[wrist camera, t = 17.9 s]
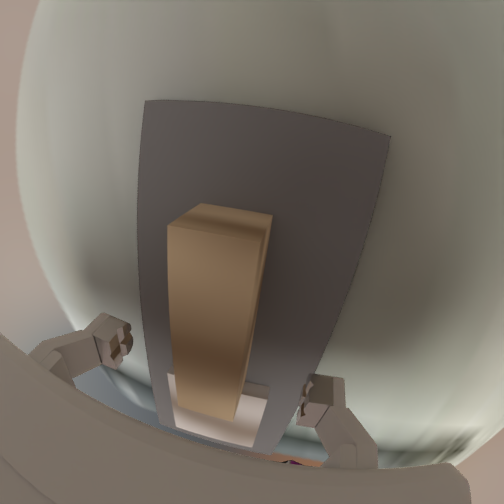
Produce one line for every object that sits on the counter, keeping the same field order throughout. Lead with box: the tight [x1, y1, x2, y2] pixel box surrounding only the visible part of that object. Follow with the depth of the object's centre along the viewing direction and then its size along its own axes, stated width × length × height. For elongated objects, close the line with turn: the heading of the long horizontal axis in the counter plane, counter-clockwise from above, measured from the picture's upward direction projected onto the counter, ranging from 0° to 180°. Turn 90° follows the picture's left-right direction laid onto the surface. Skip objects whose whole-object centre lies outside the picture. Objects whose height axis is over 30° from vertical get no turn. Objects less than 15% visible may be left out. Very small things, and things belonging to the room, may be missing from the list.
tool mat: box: [137, 100, 391, 455], centre depth 15 cm, size 24×10×1 cm, turn 171°
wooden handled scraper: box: [167, 203, 273, 447], centre depth 13 cm, size 17×6×3 cm, turn 173°
